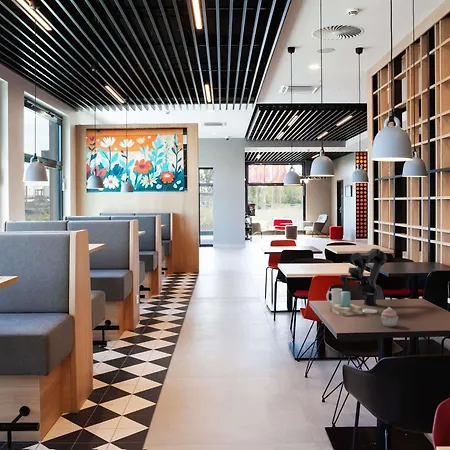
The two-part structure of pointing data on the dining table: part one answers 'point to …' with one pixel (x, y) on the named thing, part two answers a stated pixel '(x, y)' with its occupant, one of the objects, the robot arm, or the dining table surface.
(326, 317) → the dining table surface
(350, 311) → the pocket collar
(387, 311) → the cupcake
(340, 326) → the dining table surface
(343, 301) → the dowel
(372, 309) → the pad
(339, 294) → the mug
